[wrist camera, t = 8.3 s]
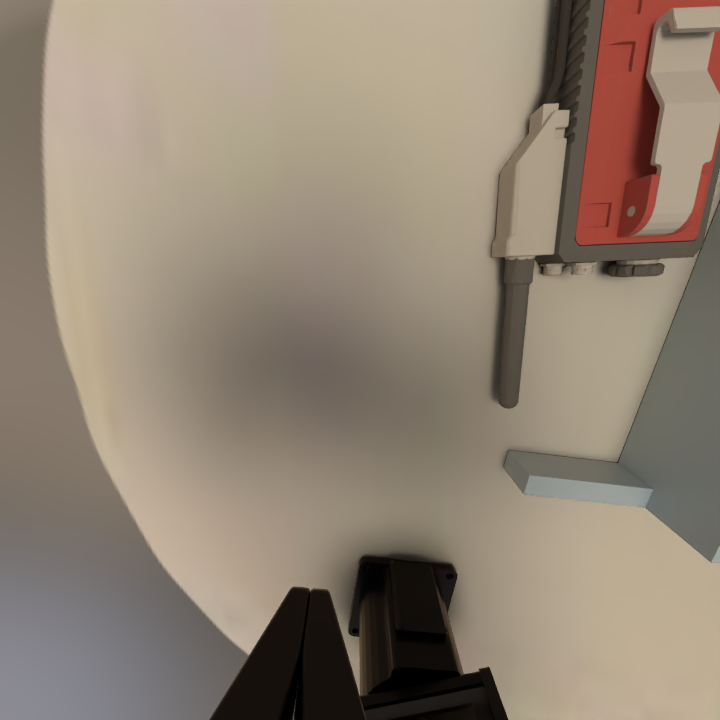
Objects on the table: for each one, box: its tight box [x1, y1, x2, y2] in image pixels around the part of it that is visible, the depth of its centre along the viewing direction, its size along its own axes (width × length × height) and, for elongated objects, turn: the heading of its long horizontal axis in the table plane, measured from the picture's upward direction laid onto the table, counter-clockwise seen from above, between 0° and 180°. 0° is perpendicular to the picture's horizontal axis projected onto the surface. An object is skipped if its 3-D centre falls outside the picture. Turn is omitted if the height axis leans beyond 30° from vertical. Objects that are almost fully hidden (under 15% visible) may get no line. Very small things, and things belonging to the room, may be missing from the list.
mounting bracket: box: [504, 203, 720, 563], centre depth 14 cm, size 26×8×7 cm, turn 172°
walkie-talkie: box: [491, 0, 720, 409], centre depth 15 cm, size 9×4×20 cm
